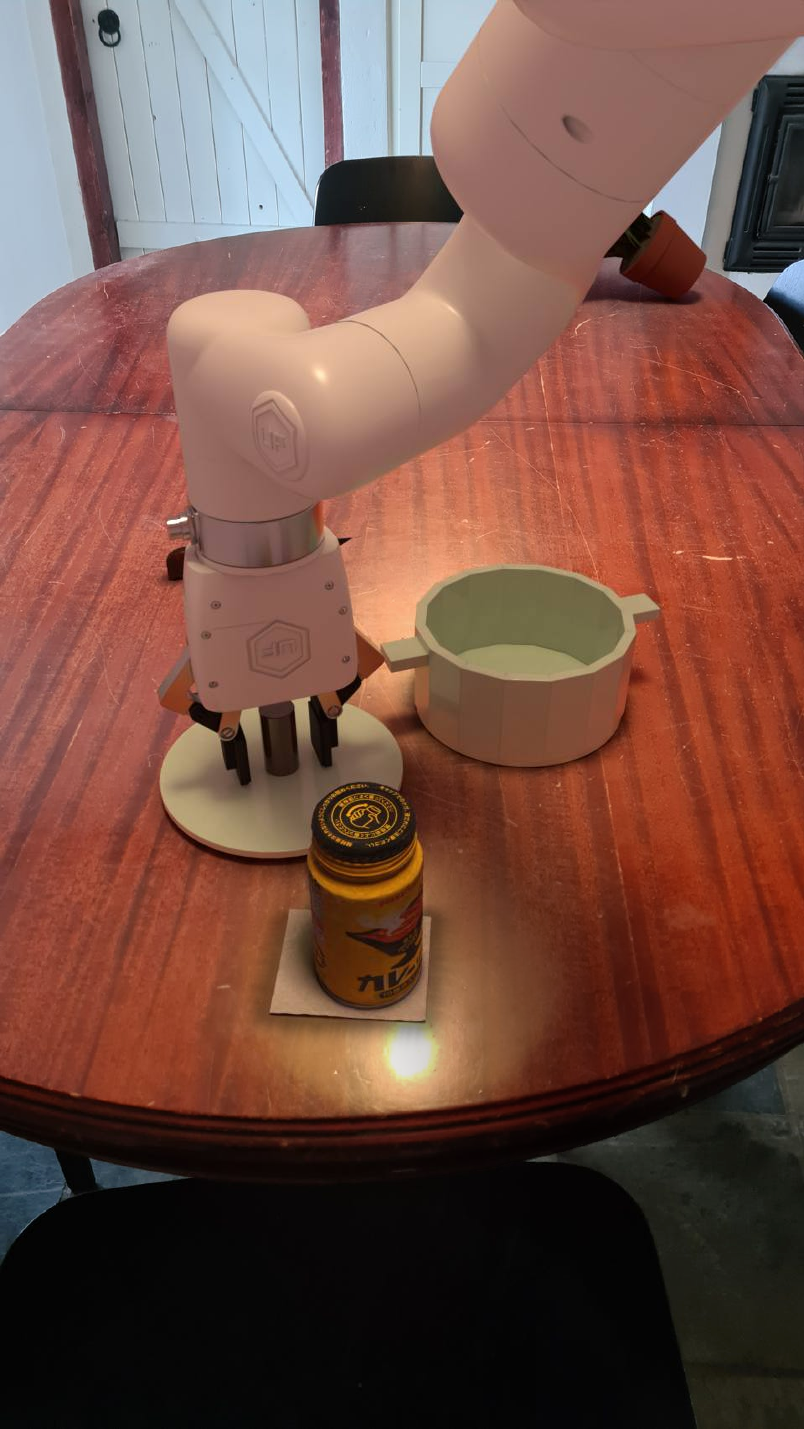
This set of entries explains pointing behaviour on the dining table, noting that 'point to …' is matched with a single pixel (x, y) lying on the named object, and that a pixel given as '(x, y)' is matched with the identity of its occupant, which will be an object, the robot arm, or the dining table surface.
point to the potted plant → (659, 255)
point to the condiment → (359, 913)
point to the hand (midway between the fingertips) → (281, 761)
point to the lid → (271, 778)
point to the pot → (521, 662)
